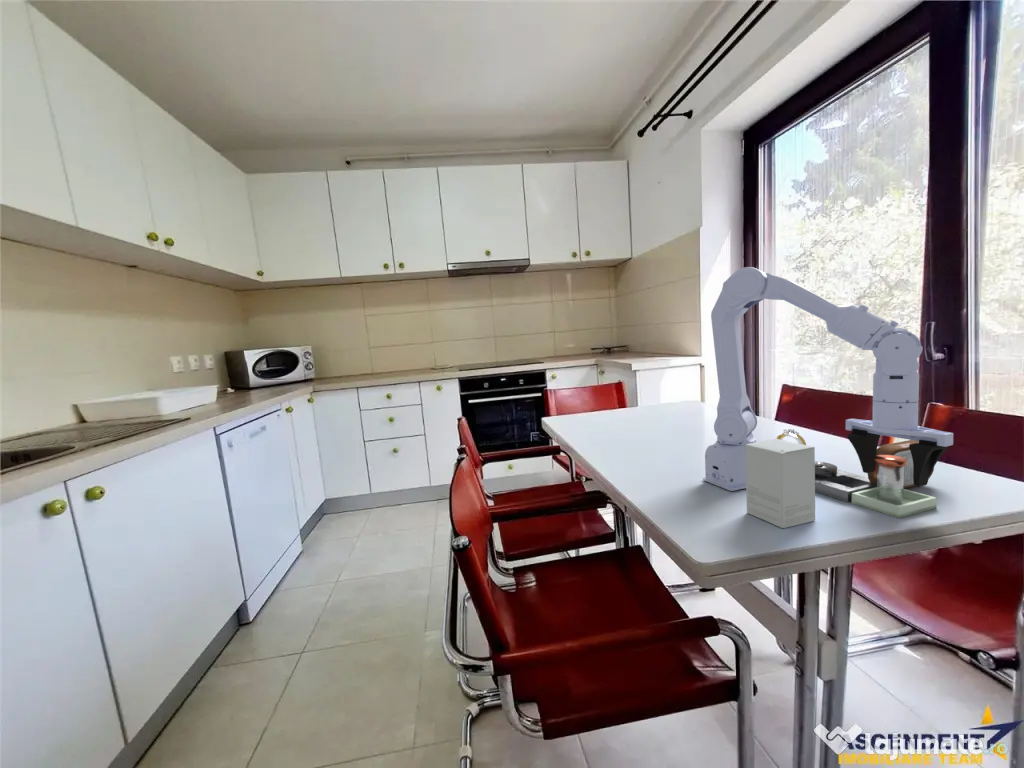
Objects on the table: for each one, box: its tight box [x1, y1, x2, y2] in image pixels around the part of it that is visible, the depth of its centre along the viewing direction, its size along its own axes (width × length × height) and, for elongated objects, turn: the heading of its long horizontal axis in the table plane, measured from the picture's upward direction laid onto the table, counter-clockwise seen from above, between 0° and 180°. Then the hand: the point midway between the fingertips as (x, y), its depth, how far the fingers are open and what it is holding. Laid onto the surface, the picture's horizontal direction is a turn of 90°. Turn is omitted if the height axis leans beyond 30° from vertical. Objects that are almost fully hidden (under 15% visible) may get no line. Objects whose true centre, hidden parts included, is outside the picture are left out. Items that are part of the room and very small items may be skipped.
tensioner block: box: [815, 460, 877, 503], centre depth 82 cm, size 10×12×4 cm
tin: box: [866, 439, 935, 489], centre depth 78 cm, size 15×3×8 cm, turn 107°
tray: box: [851, 487, 938, 519], centre depth 72 cm, size 9×7×2 cm
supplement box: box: [745, 438, 816, 529], centre depth 71 cm, size 7×7×13 cm
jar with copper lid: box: [874, 455, 907, 505], centre depth 72 cm, size 4×4×8 cm
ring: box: [775, 428, 807, 445], centre depth 98 cm, size 7×3×8 cm, turn 10°
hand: (893, 478), depth 72 cm, fingers open, 7 cm apart
